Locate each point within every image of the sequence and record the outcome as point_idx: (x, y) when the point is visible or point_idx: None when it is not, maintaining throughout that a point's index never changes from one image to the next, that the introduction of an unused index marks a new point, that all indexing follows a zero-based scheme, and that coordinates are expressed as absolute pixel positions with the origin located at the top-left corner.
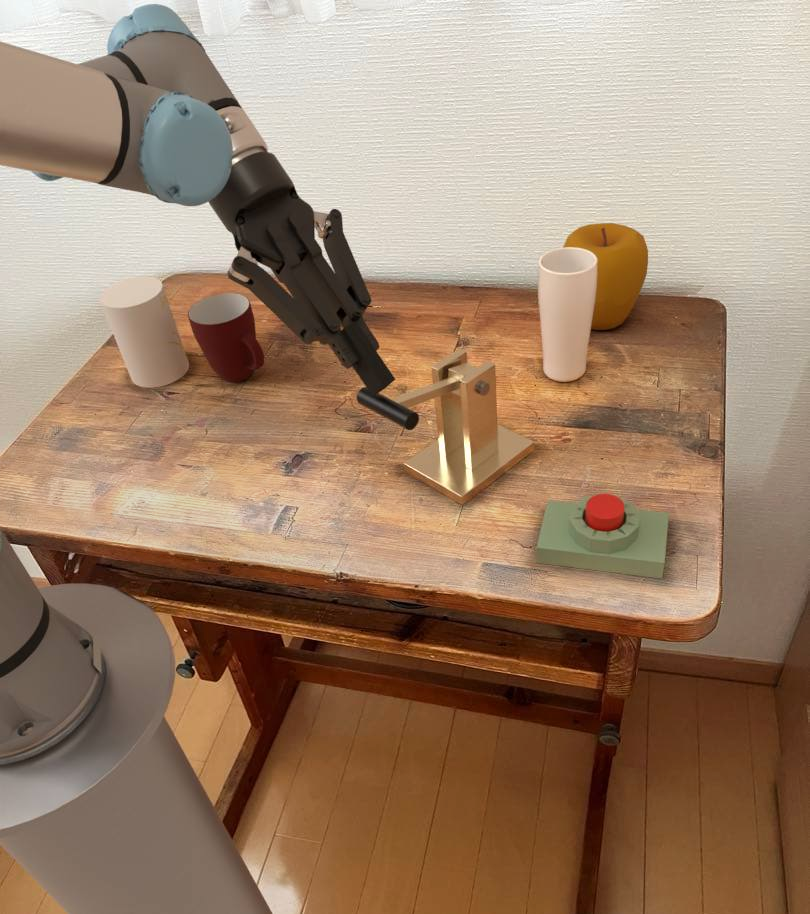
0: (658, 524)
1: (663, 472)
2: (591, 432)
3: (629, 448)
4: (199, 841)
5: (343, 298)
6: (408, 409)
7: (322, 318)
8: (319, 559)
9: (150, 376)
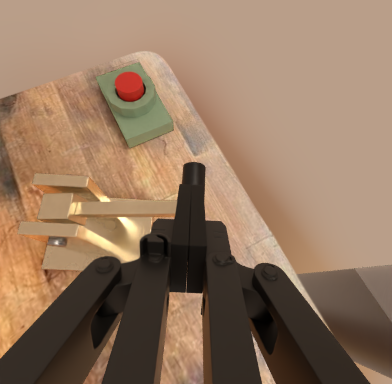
0: (109, 77)
1: (45, 112)
2: (19, 174)
3: (28, 141)
4: (338, 274)
5: (154, 289)
6: (189, 171)
7: (240, 282)
8: (273, 254)
9: None
